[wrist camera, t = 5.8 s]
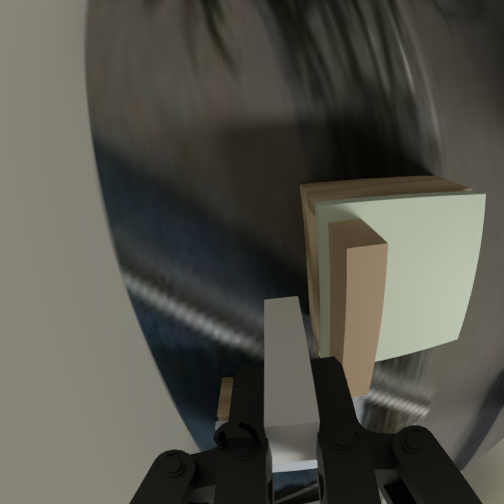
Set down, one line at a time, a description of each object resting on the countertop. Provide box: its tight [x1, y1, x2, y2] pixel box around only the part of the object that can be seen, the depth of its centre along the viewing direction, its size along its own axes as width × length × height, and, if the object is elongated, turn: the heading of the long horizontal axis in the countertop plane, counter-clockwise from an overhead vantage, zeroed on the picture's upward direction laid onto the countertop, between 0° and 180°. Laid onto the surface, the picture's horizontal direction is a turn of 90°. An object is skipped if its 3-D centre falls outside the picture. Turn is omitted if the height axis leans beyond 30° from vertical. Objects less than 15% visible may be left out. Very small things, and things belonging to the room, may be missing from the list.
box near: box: [300, 176, 471, 356], centre depth 17 cm, size 10×10×4 cm
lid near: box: [315, 191, 486, 398], centre depth 12 cm, size 10×10×4 cm
